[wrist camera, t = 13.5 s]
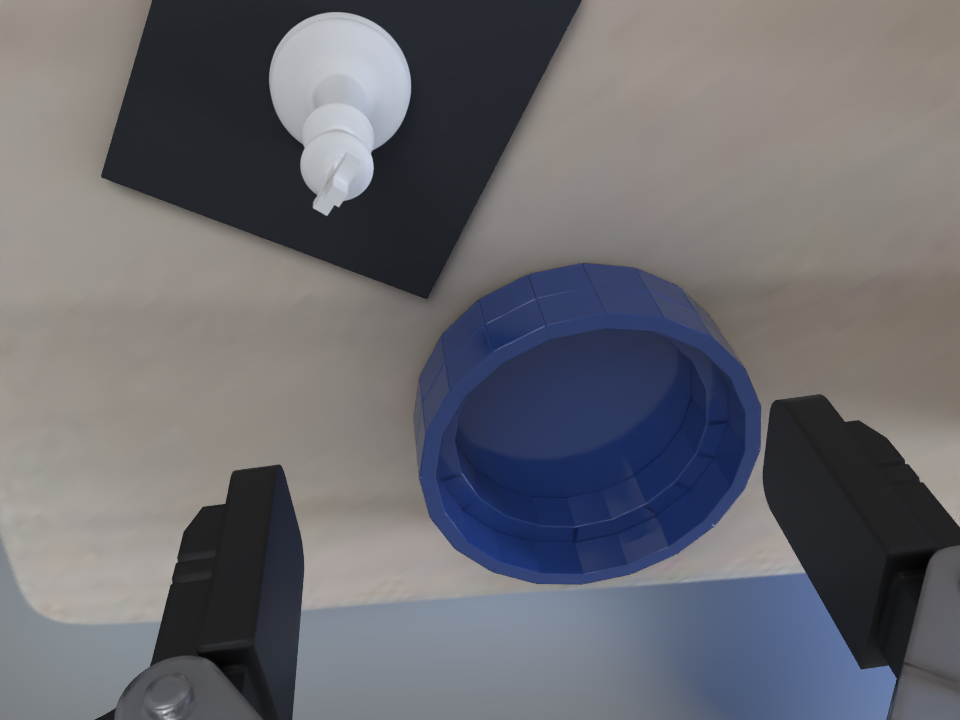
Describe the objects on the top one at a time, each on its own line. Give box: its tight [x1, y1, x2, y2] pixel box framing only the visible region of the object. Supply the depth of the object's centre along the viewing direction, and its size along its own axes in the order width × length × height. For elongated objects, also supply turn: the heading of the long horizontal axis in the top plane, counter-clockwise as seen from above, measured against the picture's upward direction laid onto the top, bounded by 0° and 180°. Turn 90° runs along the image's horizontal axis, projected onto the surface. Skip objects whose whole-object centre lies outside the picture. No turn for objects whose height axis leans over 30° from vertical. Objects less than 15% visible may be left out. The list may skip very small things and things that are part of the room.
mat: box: [101, 0, 581, 299], centre depth 31 cm, size 13×13×1 cm
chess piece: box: [269, 12, 411, 216], centre depth 27 cm, size 5×5×10 cm
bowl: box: [414, 263, 761, 584], centre depth 39 cm, size 14×14×4 cm
